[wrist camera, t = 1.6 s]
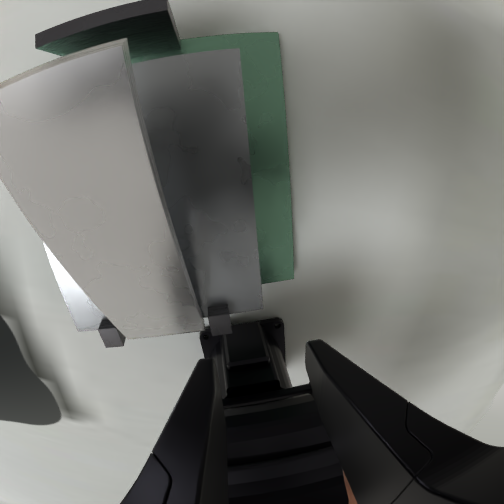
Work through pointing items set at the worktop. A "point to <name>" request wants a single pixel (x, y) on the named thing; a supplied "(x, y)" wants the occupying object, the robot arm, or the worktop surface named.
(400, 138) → the worktop surface
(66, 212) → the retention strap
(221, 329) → the green grey square block
